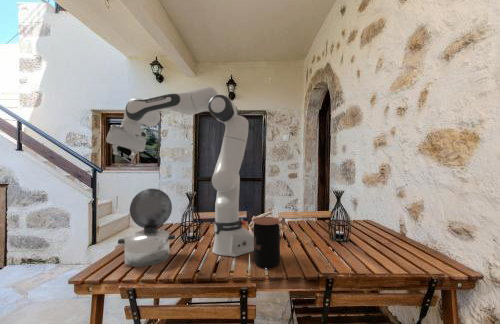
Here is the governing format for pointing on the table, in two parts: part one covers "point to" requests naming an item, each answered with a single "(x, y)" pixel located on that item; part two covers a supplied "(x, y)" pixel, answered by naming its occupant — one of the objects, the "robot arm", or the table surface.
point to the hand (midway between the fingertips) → (123, 156)
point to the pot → (146, 247)
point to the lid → (150, 209)
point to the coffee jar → (266, 242)
